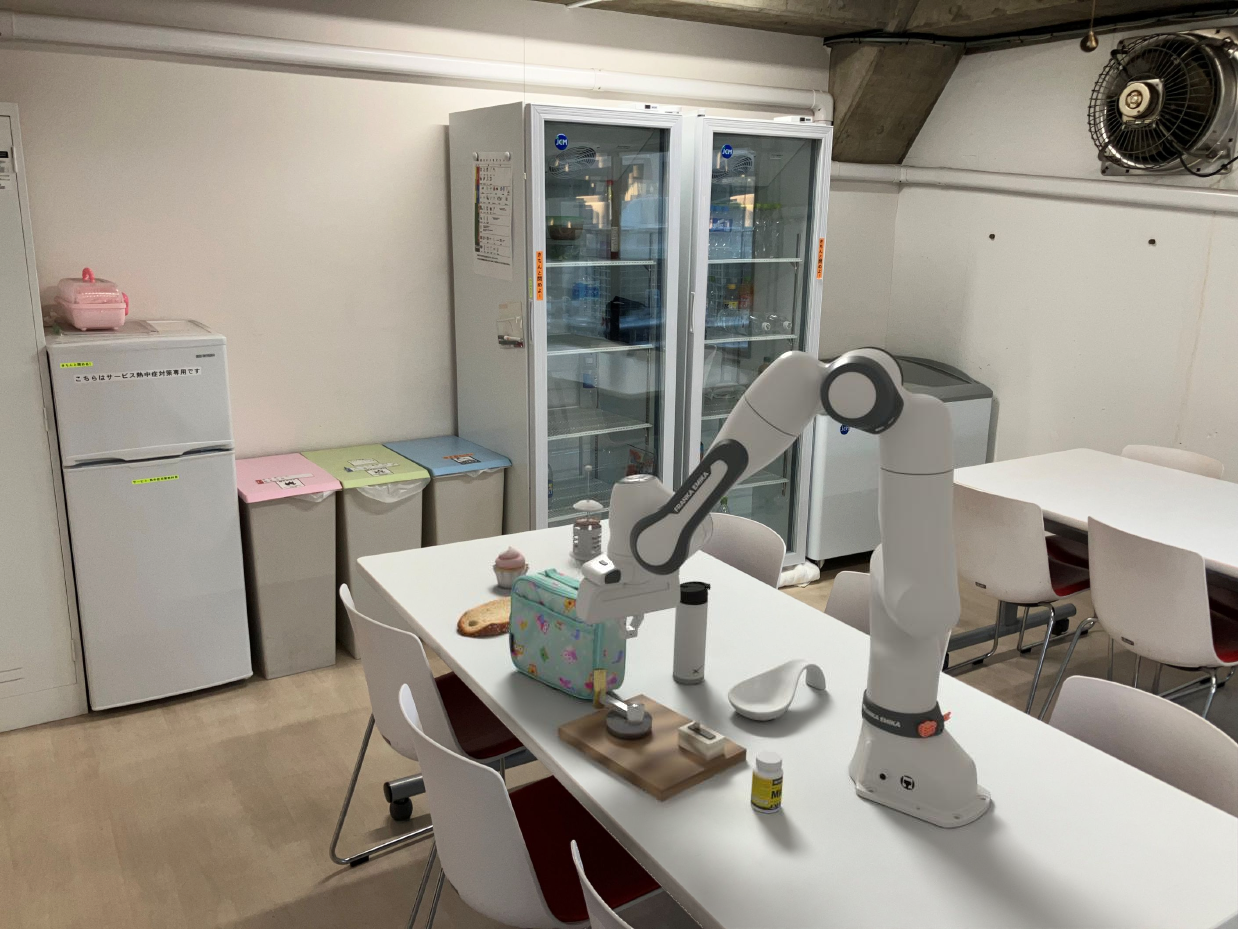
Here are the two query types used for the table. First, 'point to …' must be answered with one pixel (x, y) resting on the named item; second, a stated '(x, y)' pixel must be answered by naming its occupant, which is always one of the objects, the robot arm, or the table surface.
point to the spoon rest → (773, 689)
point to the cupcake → (509, 567)
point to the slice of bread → (486, 619)
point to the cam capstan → (621, 712)
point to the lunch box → (561, 636)
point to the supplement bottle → (767, 782)
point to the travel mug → (690, 633)
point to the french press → (587, 530)
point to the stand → (656, 749)
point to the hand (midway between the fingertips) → (627, 637)
